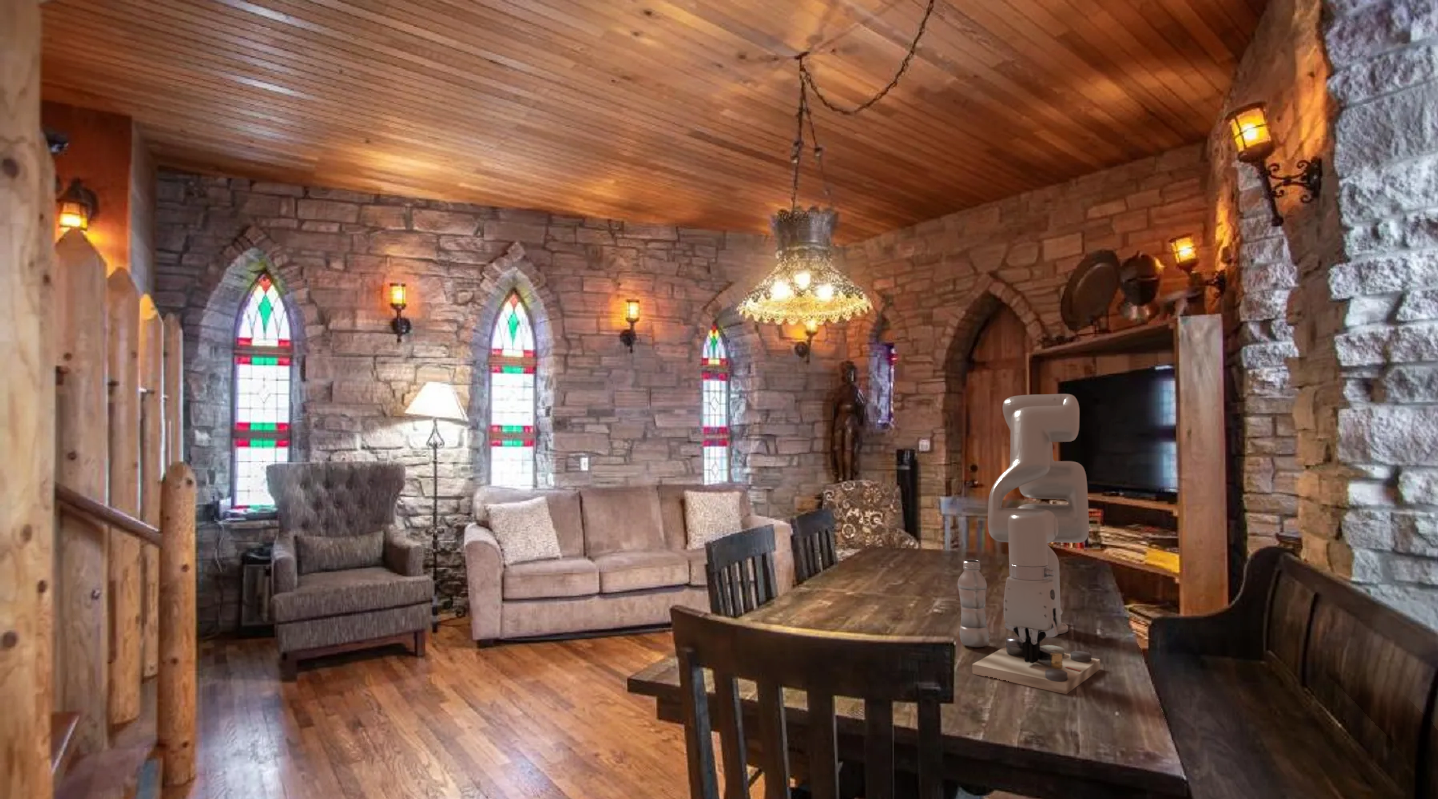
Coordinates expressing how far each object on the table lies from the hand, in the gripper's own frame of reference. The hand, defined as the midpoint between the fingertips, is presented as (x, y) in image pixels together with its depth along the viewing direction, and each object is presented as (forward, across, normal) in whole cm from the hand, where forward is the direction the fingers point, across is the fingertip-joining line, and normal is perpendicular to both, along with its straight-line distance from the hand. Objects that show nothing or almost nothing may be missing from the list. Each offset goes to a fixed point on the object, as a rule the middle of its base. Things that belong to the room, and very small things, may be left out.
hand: (1031, 661), depth 159 cm
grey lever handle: (+1, +1, -3) cm, 3 cm away
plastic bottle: (+3, +18, -11) cm, 22 cm away
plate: (+3, 0, -3) cm, 4 cm away
